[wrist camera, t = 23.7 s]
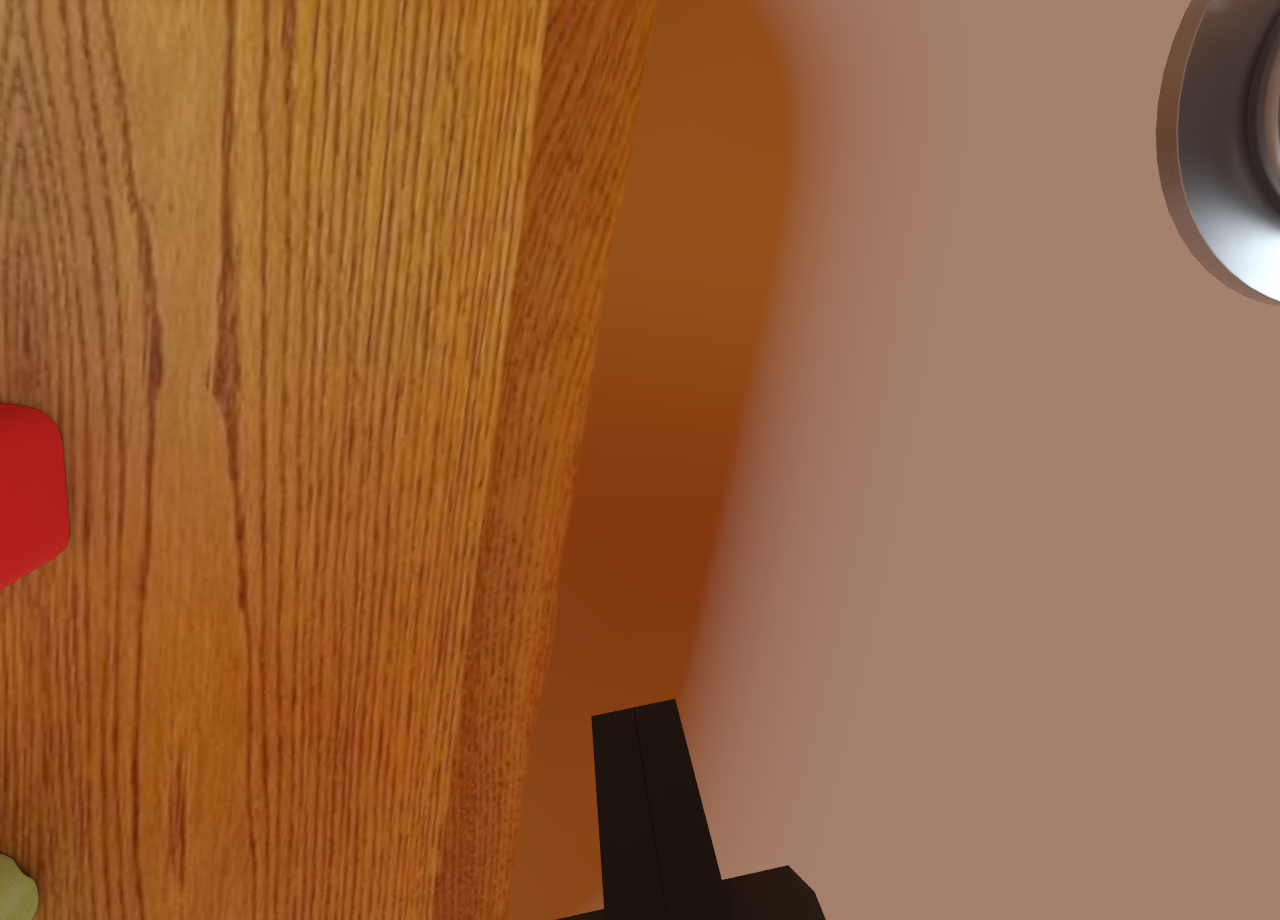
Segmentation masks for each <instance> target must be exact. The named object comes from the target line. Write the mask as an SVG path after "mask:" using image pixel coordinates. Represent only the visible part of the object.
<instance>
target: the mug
mask: <svg viewBox="0 0 1280 920" xmlns="http://www.w3.org/2000/svg"><path fill="white" fill-rule="evenodd" d="M69 534H70V527H69V515H68V504H67V492H66V481H65V469H64V457H63V446H62V439H61V436H60V433H59V431H58V428H57V425H56V423H54V422H53V421H52V420H51V419H50V418H49V417H48V416H47V415H46V414H44V413H43V412H42V411H39V410H36V409H33V408H30V407H27V406H23V405H10V404H0V590H1V589H3V588H4V587H6V586H8V585H10V584H11V583H13V582H15V581H16V580H18V579H20V578H21V577H23V576H25V575H26V574H28V573H30V572H31V571H33V570H35V569H36V568H38V567H40V566H41V565H43V564H45V563H46V562H48V561H50V560H51V559H53V558H55V557H56V556H57V555H58V554H59V553H60V552H62V551H63V550H64V549H65V548H66V547H67V543H68V539H69Z"/></svg>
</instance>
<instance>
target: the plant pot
mask: <svg viewBox="0 0 1280 920" xmlns="http://www.w3.org/2000/svg"><path fill="white" fill-rule="evenodd" d="M37 906H38V890H37V886H36V884H35V882H34V880H33V879H32V878H31V877H28V876H26V875H25V874H23V873H22V872H21V870H20V869H19V868H18V867H17V865H16V863H15V861H14V860H13V859H12V858H10V857H8V856H6V855H4V854H1V853H0V920H32V918H33V916H34V914H35V912H36V910H37Z"/></svg>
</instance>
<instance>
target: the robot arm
mask: <svg viewBox="0 0 1280 920" xmlns="http://www.w3.org/2000/svg"><path fill="white" fill-rule="evenodd" d="M1247 141H1248V148H1249V154H1250V159H1251V163H1252V166H1253V170H1254V173H1255V175H1256V178H1257V180H1258V183H1259V185H1260V187H1261V188H1262V190H1263V192H1264V194H1265V196H1266V197H1267V198H1268V200H1269V201H1270V203H1271V204H1272V205H1273V206H1274V208H1275V209H1276V210H1277V211H1278V212H1279V213H1280V15H1279V17H1278V18H1277V20H1276V21H1275V23H1274V25H1273V27H1272V29H1271V31H1270V33H1269V34H1268V36H1267V38H1266V41H1265V43H1264V45H1263V48H1262V50H1261V52H1260V55H1259V58H1258V61H1257V64H1256V67H1255V70H1254V74H1253V78H1252V82H1251V86H1250V92H1249V97H1248V106H1247ZM592 731H593V747H594V762H595V777H596V792H597V807H598V822H599V837H600V852H601V868H602V883H603V897H604V909H601V910H597V911H592V912H588V913H583V914H579V915H575V916H570V917H565V918H561V919H557V920H826V919H825V917H824V914H823V912H822V909H821V907H820V904H819V902H818V899H817V897H816V894H815V892H814V891H813V890H812V889H811V888H810V887H809V886H808V885H807V884H806V883H805V882H804V881H803V880H802V879H801V878H800V877H799V876H798V875H797V874H796V873H795V872H794V871H793V870H792V869H791V868H790V867H789V866H783V867H779V868H774V869H770V870H765V871H761V872H757V873H752V874H747V875H743V876H738V877H734V878H729V879H725V880H722V879H721V875H720V871H719V868H718V864H717V860H716V855H715V852H714V848H713V844H712V840H711V836H710V832H709V828H708V824H707V821H706V817H705V813H704V809H703V806H702V801H701V797H700V793H699V790H698V786H697V782H696V778H695V774H694V770H693V766H692V763H691V759H690V755H689V751H688V747H687V744H686V740H685V735H684V732H683V728H682V724H681V720H680V716H679V712H678V708H677V704H676V701H675V699H672V700H668V701H663V702H658V703H653V704H648V705H643V706H638V707H634V708H629V709H624V710H620V711H615V712H610V713H605V714H600V715H595V716H592Z"/></svg>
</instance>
